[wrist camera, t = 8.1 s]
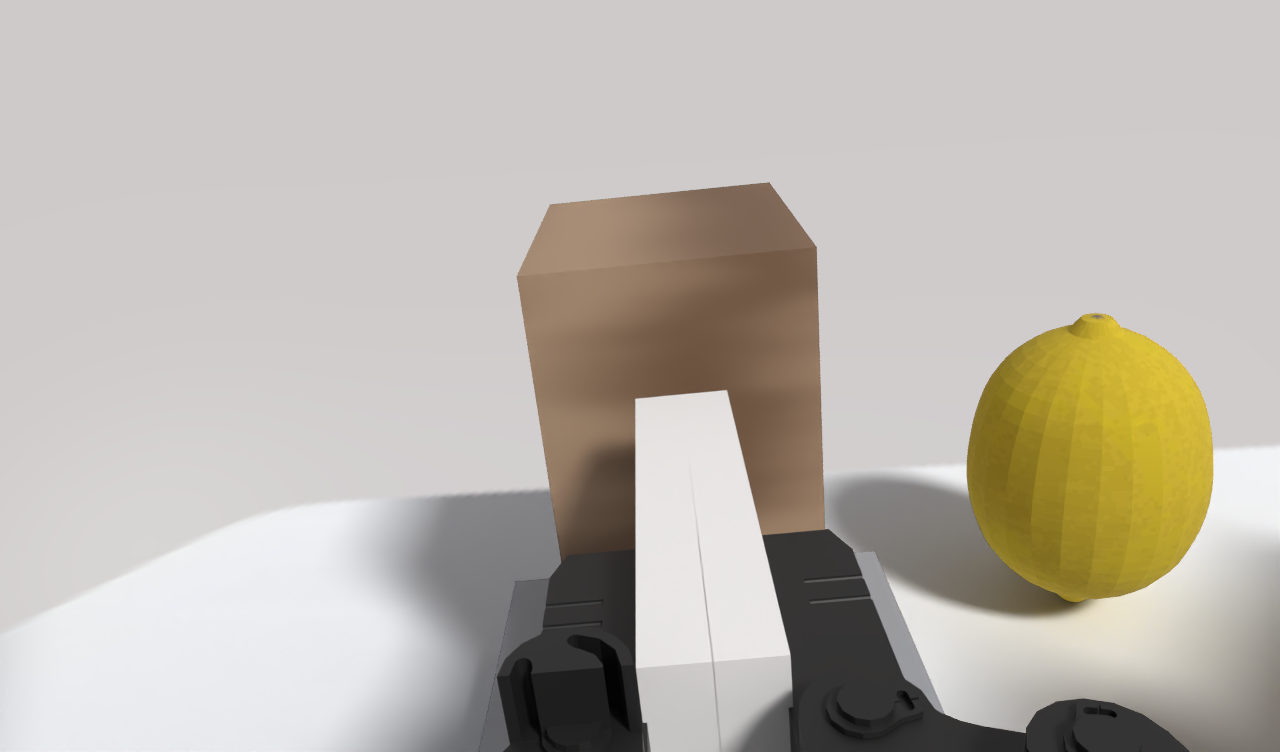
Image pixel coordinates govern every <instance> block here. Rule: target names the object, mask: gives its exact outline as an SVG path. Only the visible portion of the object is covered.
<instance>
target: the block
mask: <svg viewBox="0 0 1280 752" xmlns="http://www.w3.org/2000/svg"><path fill="white" fill-rule="evenodd" d="M517 280H518V287H519V292H520V299H521V306H522V312H523V318H524V325H525V331H526V338H527V345H528V350H529V357H530V363H531V370H532V377H533V383H534V389H535V396H536V402H537V408H538V415H539V421H540V427H541V434H542V440H543V447H544V453H545V459H546V466H547V472H548V479H549V485H550V492H551V498H552V504H553V511H554V517H555V524H556V530H557V536H558V543H559V549H560V555H561V562H563V561H564V559H565V558H566V557H567V556H568V555H575V554H586V553H597V552H608V551H620V550H631V549H636V447H635V399H638V398H649V397H659V396H670V395H681V394H691V393H702V392H712V391H723V390H727V393H728V397H729V401H730V405H731V409H732V414H733V418H734V422H735V426H736V430H737V434H738V439H739V443H740V447H741V451H742V455H743V459H744V463H745V468H746V472H747V476H748V480H749V484H750V488H751V493H752V497H753V501H754V505H755V509H756V513H757V518H758V522H759V526H760V530H761V534H762V535H769V534H780V533H792V532H803V531H814V530H825V520H824V486H823V457H822V456H823V452H822V420H821V385H820V351H819V319H818V318H819V316H818V282H817V247H816V246H815V244H814V243H813V242H812V240H811V239H810V238H809V236H808V235H807V234H806V232H805V231H804V229H803V228H802V227H801V225H800V224H799V222H798V221H797V220H796V219H795V217H794V216H793V214H792V213H791V212H790V210H789V209H788V207H787V206H786V205H785V203H784V202H783V201H782V199H781V198H780V196H779V195H778V194H777V192H776V191H775V190H774V189H773V187H772V186H771V184H770V183H759V184H750V185H739V186H729V187H720V188H710V189H701V190H690V191H680V192H670V193H660V194H650V195H640V196H631V197H621V198H611V199H601V200H591V201H581V202H571V203H561V204H552V205H550V206H549V208H548V210H547V212H546V215H545V217H544V219H543V221H542V223H541V226H540V227H539V230H538V232H537V234H536V236H535V238H534V240H533V243H532V245H531V247H530V249H529V251H528V253H527V256H526V258H525V260H524V262H523V264H522V266H521V269H520V271H519V273H518V275H517Z"/></svg>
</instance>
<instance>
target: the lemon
mask: <svg viewBox="0 0 1280 752" xmlns="http://www.w3.org/2000/svg"><path fill="white" fill-rule="evenodd" d="M967 483H968V491H969V497H970V501H971V505H972V508H973V512H974V514H975V517H976V520H977V522H978V525H979V527H980V529H981V532H982V534H983V536H984V538H985V539H986V541H987V542H988V544H989V546H990V547H991V548H992V549H993V550H994V551H995V553H996V554H997V555H998V556H999V557H1000V558H1001V559H1002V561H1003V562H1004V563H1005V564H1006V565H1007V566H1008V567H1009V568H1011V569H1012V570H1013V571H1014V572H1016V573H1017V574H1018V575H1020V576H1021V577H1023V578H1024V579H1025V580H1027V581H1028V582H1031V583H1033V584H1035V585H1037V586H1039V587H1041V588H1043V589H1046V590H1048V591H1050V592H1054V593H1057V594H1058V595H1059V596H1060V597H1061V598H1062V599H1064V600H1066V601H1069V602H1081V601H1083V600H1086V599H1101V598H1110V597H1118V596H1122V595H1125V594H1128V593H1132V592H1135V591H1137V590H1140V589H1143V588H1145V587H1147V586H1148V585H1150V584H1152V583H1153V582H1155V581H1156V580H1158V579H1159V578H1161V577H1162V576H1164V575H1166V574H1167V573H1169V572H1170V571H1171V570H1172V569H1173V568H1174V567H1175V566H1176V565H1177V564H1178V563H1179V562H1180V561H1181V559H1182V558H1183V557H1184V555H1185V554H1186V553H1187V551H1188V550H1189V548H1190V546H1191V545H1192V543H1193V542H1194V540H1195V538H1196V536H1197V535H1198V533H1199V531H1200V529H1201V527H1202V524H1203V522H1204V519H1205V517H1206V514H1207V510H1208V507H1209V503H1210V498H1211V493H1212V484H1213V445H1212V433H1211V427H1210V421H1209V417H1208V412H1207V408H1206V405H1205V402H1204V399H1203V397H1202V394H1201V392H1200V390H1199V388H1198V386H1197V385H1196V383H1195V381H1194V380H1193V378H1192V377H1191V375H1190V374H1189V372H1188V371H1187V370H1186V368H1185V367H1184V366H1183V365H1182V364H1181V363H1180V362H1179V360H1178V359H1177V358H1176V357H1174V356H1173V355H1172V354H1171V353H1169V352H1168V351H1167V350H1166V349H1165V348H1163V347H1162V346H1160V345H1159V344H1157V343H1155V342H1154V341H1152V340H1151V339H1149V338H1147V337H1146V336H1144V335H1141V334H1138V333H1136V332H1133V331H1131V330H1128V329H1125V328H1122V327H1120V325H1119V324H1118V323H1117V322H1116V321H1115V320H1114V318H1113V317H1111V316H1109V315H1106V314H1097V313H1095V314H1094V313H1093V314H1086V315H1083V316H1081V317H1080V318H1079V319H1078V320H1077V321H1076V322H1075V323H1074V324H1073V325H1068V326H1064V327H1060V328H1057V329H1053V330H1050V331H1047V332H1045V333H1043V334H1041V335H1038V336H1036V337H1034V338H1033V339H1031V340H1029V341H1027V342H1026V343H1024V344H1023V345H1021V346H1020V347H1018V348H1017V349H1015V350H1014V351H1013V352H1012V353H1011V354H1010V355H1009V356H1008V357H1006V358H1005V360H1004V361H1003V362H1002V363H1001V364H1000V365H999V367H998V368H997V369H996V370H995V372H994V373H993V374H992V376H991V377H990V379H989V381H988V383H987V384H986V386H985V388H984V391H983V393H982V396H981V398H980V400H979V403H978V407H977V410H976V412H975V417H974V420H973V424H972V429H971V435H970V441H969V447H968V455H967Z"/></svg>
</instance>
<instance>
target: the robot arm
mask: <svg viewBox="0 0 1280 752" xmlns="http://www.w3.org/2000/svg"><path fill="white" fill-rule="evenodd" d="M635 447H636V549H631V550H620V551H608V552H597V553H586V554H575V555H568V556H567V557H566V558H565V559H564V561H563V562H562V563H561V565H560V566H559V567H558V568H557V570H556V571H555V572H554V573H553V575H552V576H551V577H550V579H549V585H548V592H547V598H546V609H545V612H544V618H543V625H542V626H543V631H542V632H541V634H540V635H538V636H536V637H534V638H532V639H530V640H528V641H526V642H524V643H522V644H521V645H520V646H519V647H518V648H516V649H515V650H514V651H513V652H512V653H511V654H510V655H509V656H508V657H507V658H505V660H504V662H503V664H502V666H501V668H500V671H499V673H498V675H497V682H498V687H499V692H500V697H501V702H502V707H503V712H504V717H505V722H506V727H507V732H508V737H509V742H510V745H509V746H508V747H507V748H506V749H505V750H504V751H503V752H1190V751H1189V750H1187V749H1186V748H1185V747H1184V746H1183V745H1182V744H1181V743H1180V742H1179V741H1178V740H1177V739H1175V738H1174V737H1173V736H1172V735H1171V734H1170V733H1169V732H1168V731H1166V730H1165V729H1163V728H1162V727H1160V726H1159V725H1157V724H1156V723H1155V722H1153V721H1152V720H1150V719H1149V718H1147V717H1146V716H1144V715H1143V714H1140V713H1138V712H1135V711H1133V710H1130V709H1128V708H1125V707H1122V706H1120V705H1117V704H1115V703H1110V702H1103V701H1097V700H1090V699H1075V700H1066V701H1057V702H1055V703H1053V704H1051V705H1049V706H1047V707H1045V708H1043V709H1041V710H1039V711H1037V712H1036V714H1035V715H1034V717H1033V718H1032V720H1031V721H1030V723H1029V724H1028V726H1027V727H1026V733H1021V732H1015V731H1009V730H1003V729H996V728H990V727H984V726H979V725H975V724H971V723H967V722H963V721H960V720H957V719H955V718H952V717H950V716H948V715H945V714H943V713H941V712H939V711H937V710H936V709H934V707H933V705H932V704H931V703H930V701H929V700H928V699H927V697H926V696H925V694H924V693H923V692H922V690H921V689H919V688H918V687H916V686H915V685H913V684H912V683H910V682H909V681H907V680H906V679H905V678H904V676H903V674H902V671H901V669H900V666H899V664H898V662H897V659H896V657H895V654H894V652H893V649H892V647H891V644H890V642H889V639H888V637H887V634H886V632H885V629H884V627H883V624H882V622H881V619H880V617H879V614H878V612H877V609H876V607H875V604H874V602H873V599H872V600H871V595H870V592H869V589H868V587H867V584H866V582H865V579H863V576H862V572H861V569H860V567H859V564H858V562H857V559H856V557H855V554H854V552H853V549H852V548H850V547H849V546H848V545H847V544H846V543H844V542H843V541H842V540H841V539H840V538H838V537H837V536H836V535H835V534H833V533H832V532H831V531H830V530H829V529H825V530H814V531H803V532H792V533H780V534H769V535H762V534H761V530H760V526H759V522H758V518H757V513H756V509H755V505H754V501H753V497H752V493H751V488H750V484H749V480H748V476H747V472H746V468H745V463H744V459H743V455H742V451H741V447H740V443H739V439H738V434H737V430H736V426H735V422H734V418H733V414H732V409H731V405H730V401H729V397H728V393H727V390H723V391H712V392H702V393H691V394H681V395H670V396H659V397H649V398H638V399H635Z"/></svg>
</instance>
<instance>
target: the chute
mask: <svg viewBox="0 0 1280 752" xmlns="http://www.w3.org/2000/svg"><path fill="white" fill-rule="evenodd" d="M854 554H855V557H856V559H857V562H858V564H859V567H860V569H861V572H862V576H863V579H865V582H866V584H867V587H868V589H869V592H870V595H871V600H872V599H873V602H874V604H875V607H876V609H877V612H878V614H879V617H880V619H881V622H882V624H883V627H884V629H885V632H886V634H887V637H888V639H889V642H890V644H891V647H892V649H893V652H894V654H895V657H896V659H897V662H898V664H899V666H900V669H901V671H902V674H903V676H904V678H905V679H906V680H907V681H909V682H910V683H912V684H913V685H915V686H916V687H918V688H919V689H921V690H922V692H923V693H924V694H925V696H926V697H927V699H928V700H929V701H930V703H931V704H932V705H933V707H934V709H936V710H937V711H939V712H941V713H943V714H944V711H943V709H942V707H941V704H940V702H939V700H938V697H937V695H936V693H935V690H934V688H933V686H932V683H931V681H930V679H929V676H928V674H927V672H926V669H925V667H924V665H923V662H922V660H921V658H920V655H919V653H918V651H917V648H916V646H915V644H914V641H913V639H912V637H911V634H910V632H909V630H908V628H907V625H906V623H905V621H904V618H903V616H902V614H901V611H900V609H899V607H898V604H897V602H896V600H895V597H894V595H893V593H892V590H891V588H890V586H889V583H888V581H887V579H886V576H885V574H884V572H883V569H882V567H881V565H880V562H879V560H878V558H877V555H876V553H875V551H870V552H858V553H854ZM548 585H549V579H540V580H528V581H516V583H515V587H514V592H513V597H512V601H511V606H510V610H509V615H508V620H507V624H506V629H505V633H504V638H503V642H502V647H501V652H500V656H499V661H498V665H497V670H496V674H495V679H494V684H493V688H492V693H491V697H490V702H489V706H488V711H487V716H486V720H485V725H484V729H483V734H482V739H481V743H480V748H479V752H503V751H504V750H505V749H506V748H507V747H508V746H509V745H510V742H509V737H508V732H507V727H506V722H505V717H504V712H503V707H502V702H501V697H500V692H499V687H498V682H497V675H498V673H499V671H500V668H501V666H502V664H503V662H504V660H505V658H507V657H508V656H509V655H510V654H511V653H512V652H513V651H514V650H515V649H516V648H518V647H519V646H520V645H521V644H522V643H524V642H526V641H528V640H530V639H532V638H534V637H536V636H538V635H540V634H541V632H542V631H543V626H542V625H543V618H544V612H545V609H546V598H547V592H548Z"/></svg>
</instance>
